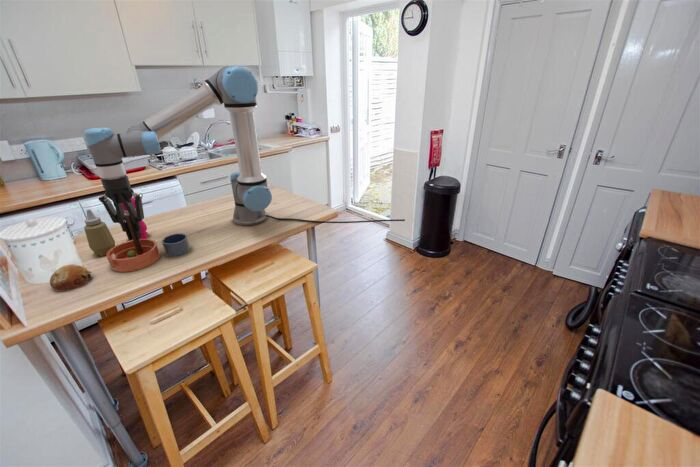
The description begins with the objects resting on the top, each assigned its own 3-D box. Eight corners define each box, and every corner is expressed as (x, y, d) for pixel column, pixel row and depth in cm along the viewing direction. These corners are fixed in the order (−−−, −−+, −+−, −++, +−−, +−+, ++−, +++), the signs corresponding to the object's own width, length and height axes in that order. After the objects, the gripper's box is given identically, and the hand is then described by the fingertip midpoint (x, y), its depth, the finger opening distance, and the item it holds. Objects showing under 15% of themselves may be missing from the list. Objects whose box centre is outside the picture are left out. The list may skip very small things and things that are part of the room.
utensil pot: (193, 245, 128) (189, 232, 126) (186, 257, 121) (182, 243, 118) (170, 247, 127) (166, 234, 124) (162, 258, 119) (158, 244, 117)
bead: (139, 255, 120) (136, 248, 119) (135, 259, 118) (133, 252, 116) (130, 256, 120) (128, 249, 119) (126, 260, 117) (124, 253, 116)
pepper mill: (140, 242, 131) (125, 197, 122) (125, 241, 132) (109, 195, 123) (153, 234, 137) (139, 191, 128) (139, 233, 138) (124, 189, 129)
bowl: (166, 249, 126) (163, 237, 123) (150, 271, 112) (146, 258, 109) (124, 252, 124) (119, 240, 121) (102, 275, 110) (97, 261, 107)
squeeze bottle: (99, 259, 119) (80, 216, 110) (89, 254, 123) (70, 211, 114) (122, 250, 125) (106, 208, 117) (112, 245, 129) (95, 204, 120)
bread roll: (77, 282, 112) (59, 266, 108) (101, 271, 110) (82, 253, 107) (57, 300, 103) (35, 283, 99) (82, 288, 102) (61, 270, 98)
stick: (144, 251, 121) (131, 213, 113) (142, 254, 119) (129, 215, 112) (138, 252, 120) (125, 213, 113) (136, 255, 119) (122, 216, 111)
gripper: (142, 172, 110) (161, 232, 121) (95, 174, 108) (118, 235, 119) (133, 178, 104) (153, 241, 114) (82, 181, 102) (108, 245, 112)
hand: (135, 238), depth 117 cm, fingers closed on stick, 2 cm apart
